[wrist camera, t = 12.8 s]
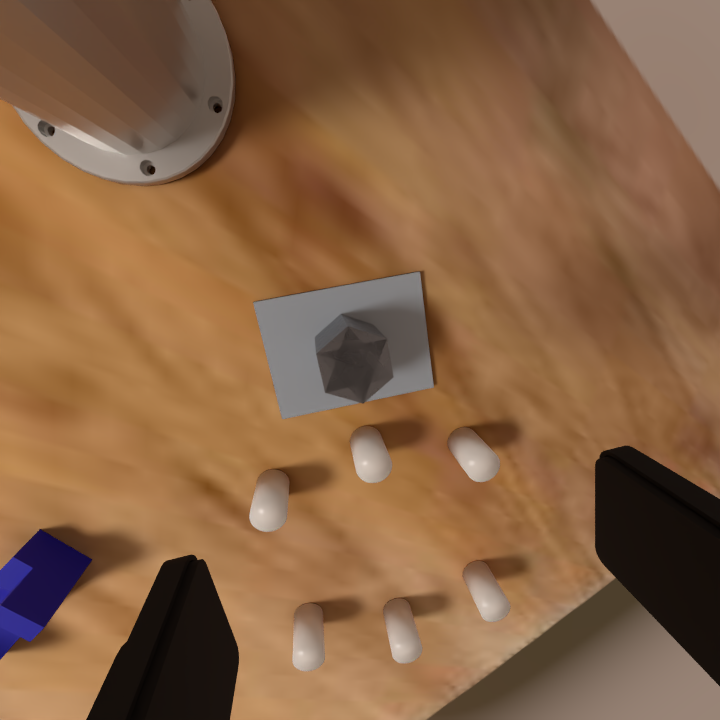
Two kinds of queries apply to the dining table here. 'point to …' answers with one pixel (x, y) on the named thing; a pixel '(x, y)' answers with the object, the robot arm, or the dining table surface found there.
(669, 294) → the dining table surface
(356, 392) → the grey faceted polyhedron
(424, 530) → the dining table surface
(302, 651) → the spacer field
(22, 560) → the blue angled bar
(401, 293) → the mat
